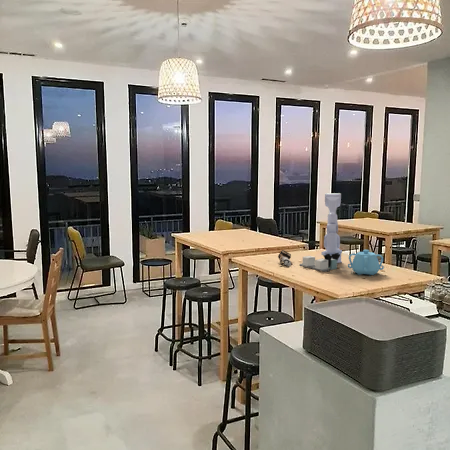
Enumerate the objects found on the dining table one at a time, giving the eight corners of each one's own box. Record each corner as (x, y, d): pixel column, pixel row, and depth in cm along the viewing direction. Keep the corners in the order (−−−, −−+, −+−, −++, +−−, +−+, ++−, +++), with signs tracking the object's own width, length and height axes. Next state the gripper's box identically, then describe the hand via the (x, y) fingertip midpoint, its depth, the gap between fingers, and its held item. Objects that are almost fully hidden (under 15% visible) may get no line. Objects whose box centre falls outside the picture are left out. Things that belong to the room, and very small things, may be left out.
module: (331, 267, 276) (331, 258, 275) (336, 268, 271) (337, 259, 271) (326, 268, 274) (326, 258, 273) (331, 269, 269) (332, 260, 269)
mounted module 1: (310, 263, 282) (310, 255, 281) (315, 265, 278) (315, 256, 277) (302, 264, 279) (302, 256, 278) (307, 266, 275) (307, 257, 274)
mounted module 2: (322, 267, 272) (323, 258, 271) (328, 268, 268) (328, 259, 267) (315, 268, 269) (315, 259, 268) (320, 269, 265) (320, 261, 264)
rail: (305, 264, 284) (305, 262, 284) (330, 270, 265) (330, 269, 265) (299, 265, 282) (299, 263, 282) (323, 271, 263) (323, 270, 263)
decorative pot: (386, 275, 254) (387, 251, 252) (363, 277, 248) (363, 253, 247) (367, 269, 269) (368, 246, 268) (344, 271, 263) (345, 248, 262)
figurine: (284, 257, 276) (280, 247, 291) (277, 267, 279) (273, 257, 293) (296, 263, 278) (292, 253, 292) (289, 274, 281) (285, 263, 295)
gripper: (327, 245, 264) (326, 268, 265) (345, 243, 271) (345, 265, 272) (319, 243, 270) (318, 266, 271) (337, 241, 277) (336, 263, 279)
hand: (331, 266), depth 272 cm, fingers closed on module, 4 cm apart
